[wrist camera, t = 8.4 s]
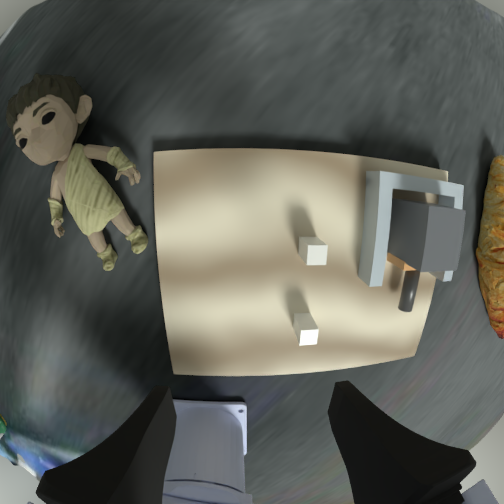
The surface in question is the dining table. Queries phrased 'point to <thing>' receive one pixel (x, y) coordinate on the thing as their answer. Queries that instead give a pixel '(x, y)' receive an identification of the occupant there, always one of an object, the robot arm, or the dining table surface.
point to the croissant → (493, 246)
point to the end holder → (380, 216)
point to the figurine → (72, 160)
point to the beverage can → (2, 426)
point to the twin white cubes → (311, 254)
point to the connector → (423, 242)
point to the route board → (276, 262)
